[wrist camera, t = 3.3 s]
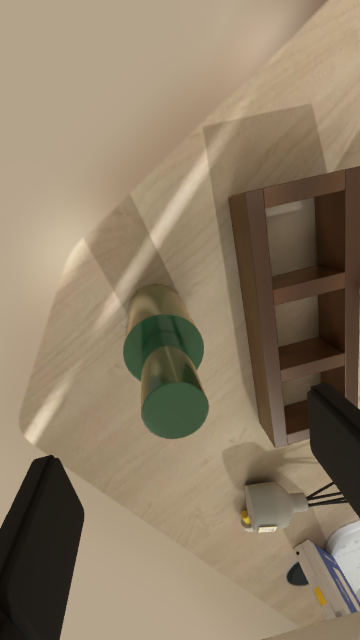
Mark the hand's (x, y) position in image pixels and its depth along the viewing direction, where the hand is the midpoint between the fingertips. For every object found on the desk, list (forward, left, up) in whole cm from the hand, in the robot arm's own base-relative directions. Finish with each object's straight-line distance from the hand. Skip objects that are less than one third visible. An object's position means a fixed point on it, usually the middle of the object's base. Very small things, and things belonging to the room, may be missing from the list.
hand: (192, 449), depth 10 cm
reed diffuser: (+14, -28, -17) cm, 36 cm away
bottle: (0, 0, -17) cm, 17 cm away
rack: (+13, -4, -17) cm, 22 cm away
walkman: (+14, -44, -17) cm, 49 cm away
